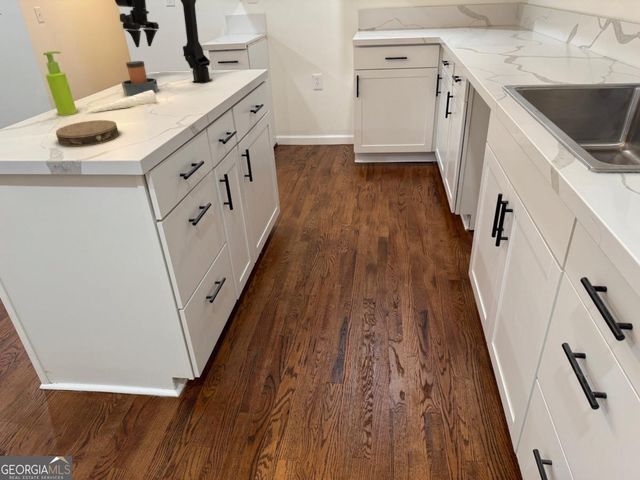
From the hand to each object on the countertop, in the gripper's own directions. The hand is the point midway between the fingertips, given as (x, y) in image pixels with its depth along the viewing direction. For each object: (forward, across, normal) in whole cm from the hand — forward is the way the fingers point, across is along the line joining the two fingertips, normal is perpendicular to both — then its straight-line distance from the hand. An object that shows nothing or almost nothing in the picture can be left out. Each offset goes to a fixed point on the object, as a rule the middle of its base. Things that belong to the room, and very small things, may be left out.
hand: (143, 46), depth 201 cm
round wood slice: (+18, +85, +36) cm, 94 cm away
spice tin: (+15, +27, +15) cm, 34 cm away
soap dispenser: (+18, +59, +7) cm, 62 cm away
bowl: (+15, +27, +15) cm, 34 cm away
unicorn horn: (+16, +50, +24) cm, 58 cm away
